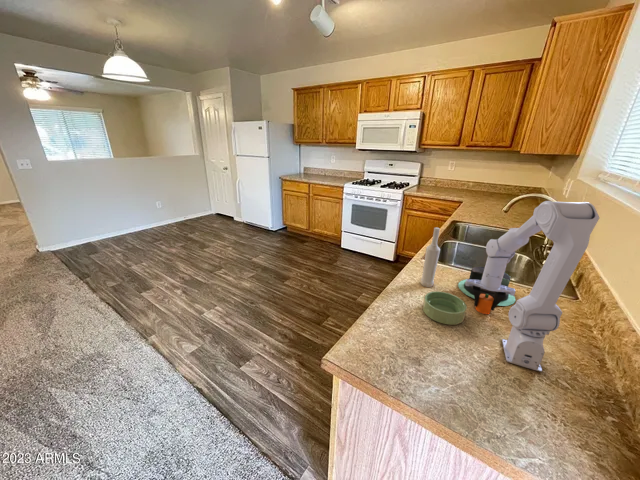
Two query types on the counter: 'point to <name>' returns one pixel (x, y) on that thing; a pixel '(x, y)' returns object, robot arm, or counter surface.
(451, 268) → the counter surface
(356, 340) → the counter surface
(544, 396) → the counter surface
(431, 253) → the bottle
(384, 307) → the counter surface
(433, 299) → the bowl
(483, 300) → the pepper
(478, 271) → the chocolate cake
